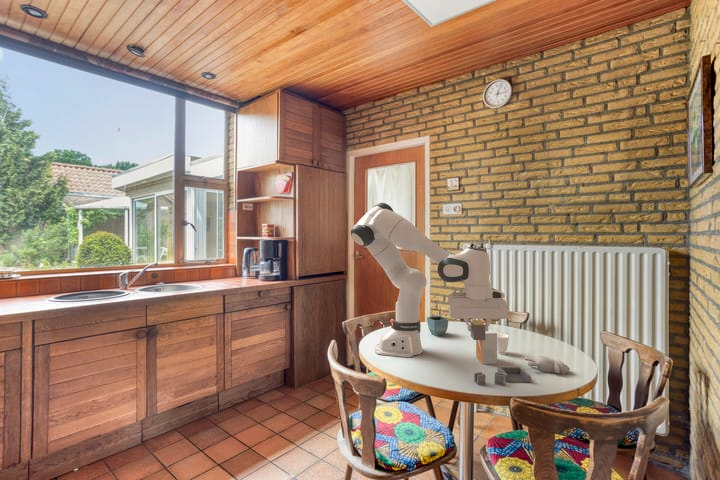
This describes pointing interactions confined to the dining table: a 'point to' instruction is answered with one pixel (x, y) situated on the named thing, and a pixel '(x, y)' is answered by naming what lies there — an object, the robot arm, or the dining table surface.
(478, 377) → the clip
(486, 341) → the small box
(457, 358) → the dining table surface
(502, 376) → the clip
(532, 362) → the bunny figurine
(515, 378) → the end holder
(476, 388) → the dining table surface
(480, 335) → the connector
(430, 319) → the flower pot
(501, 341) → the cup
